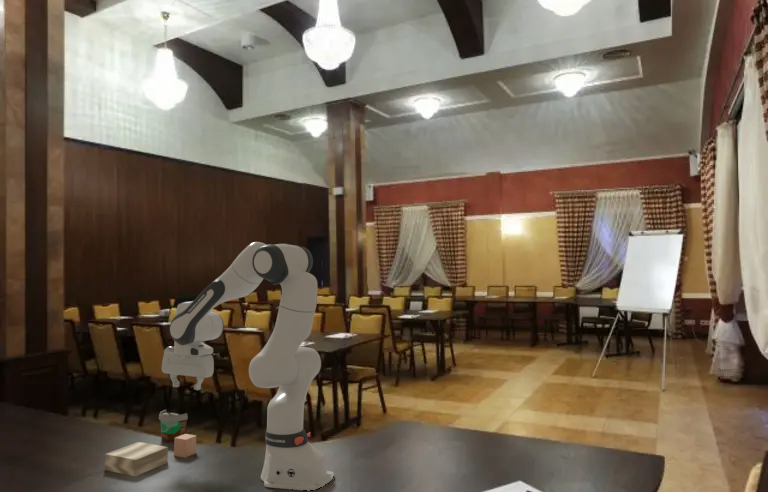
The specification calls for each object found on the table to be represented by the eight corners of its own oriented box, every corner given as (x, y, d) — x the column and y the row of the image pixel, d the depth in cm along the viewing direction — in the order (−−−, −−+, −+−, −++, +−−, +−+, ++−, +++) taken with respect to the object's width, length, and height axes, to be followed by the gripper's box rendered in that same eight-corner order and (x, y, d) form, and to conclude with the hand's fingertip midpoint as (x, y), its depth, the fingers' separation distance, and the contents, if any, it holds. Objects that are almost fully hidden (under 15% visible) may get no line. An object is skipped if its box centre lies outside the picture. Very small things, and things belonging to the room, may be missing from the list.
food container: (150, 440, 198) (151, 412, 199) (164, 435, 204) (165, 409, 204) (173, 445, 192) (174, 417, 193) (187, 440, 198) (188, 413, 198)
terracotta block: (195, 453, 185) (196, 435, 185) (185, 457, 180) (185, 439, 181) (184, 451, 187) (185, 433, 187) (174, 455, 182) (174, 437, 182)
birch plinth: (167, 462, 176) (167, 447, 176) (135, 476, 164) (135, 459, 164) (137, 456, 180) (138, 441, 181) (104, 470, 168) (105, 453, 169)
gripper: (157, 347, 186) (156, 387, 186) (204, 351, 178) (203, 393, 178) (171, 344, 192) (170, 383, 191) (217, 348, 184) (216, 389, 184)
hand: (186, 388), depth 185 cm, fingers open, 8 cm apart
